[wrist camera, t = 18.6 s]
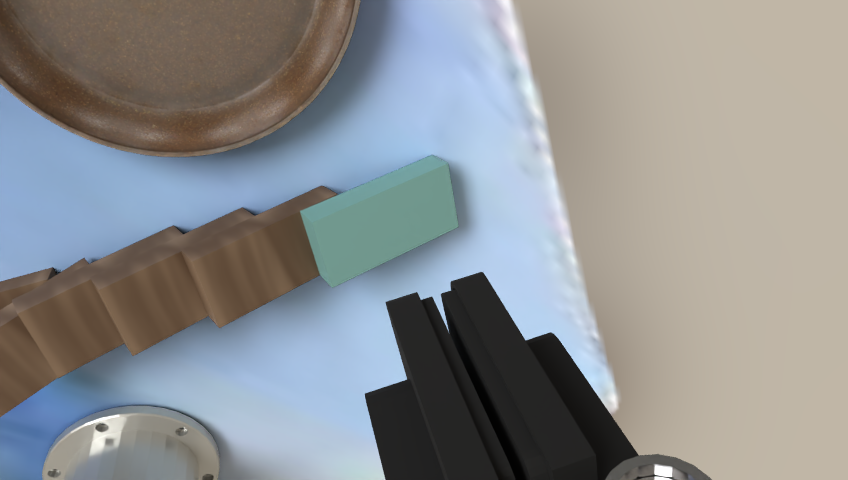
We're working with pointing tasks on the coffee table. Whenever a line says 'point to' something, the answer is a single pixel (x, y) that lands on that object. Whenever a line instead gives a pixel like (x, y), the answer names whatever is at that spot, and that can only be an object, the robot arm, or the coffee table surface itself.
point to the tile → (380, 219)
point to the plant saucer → (172, 67)
